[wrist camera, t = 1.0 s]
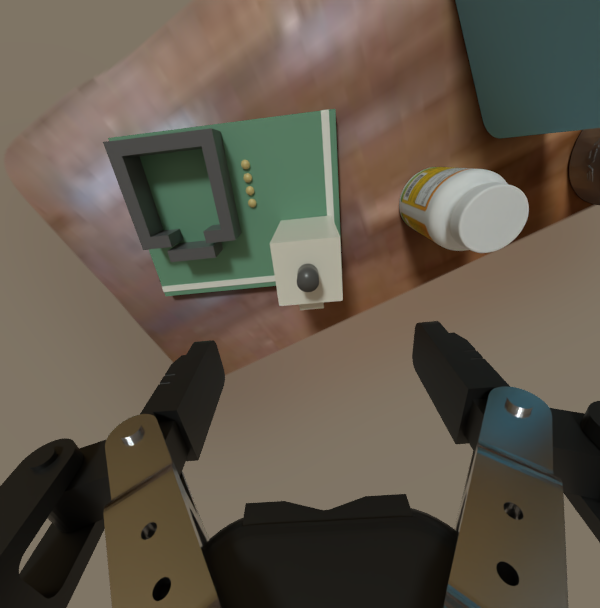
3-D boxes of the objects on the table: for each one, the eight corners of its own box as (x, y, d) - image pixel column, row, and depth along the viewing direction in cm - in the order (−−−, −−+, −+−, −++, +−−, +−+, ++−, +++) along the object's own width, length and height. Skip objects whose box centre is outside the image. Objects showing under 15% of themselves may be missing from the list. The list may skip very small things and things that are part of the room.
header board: (333, 110, 22) (335, 108, 21) (340, 275, 28) (342, 279, 27) (115, 139, 23) (107, 138, 22) (170, 292, 29) (165, 296, 28)
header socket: (243, 128, 22) (237, 124, 20) (263, 245, 26) (260, 253, 24) (123, 144, 22) (102, 142, 20) (161, 255, 27) (148, 264, 24)
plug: (331, 215, 25) (342, 242, 16) (334, 273, 27) (345, 324, 19) (280, 220, 25) (266, 250, 16) (288, 277, 27) (279, 329, 19)
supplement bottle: (456, 224, 26) (533, 257, 17) (398, 234, 26) (444, 270, 18) (462, 160, 24) (553, 161, 15) (397, 172, 24) (450, 180, 15)
